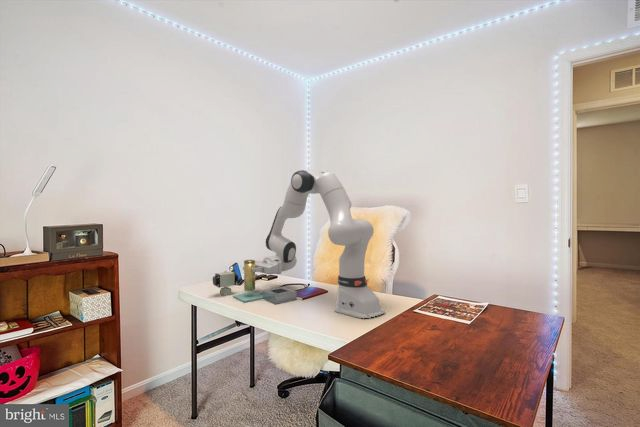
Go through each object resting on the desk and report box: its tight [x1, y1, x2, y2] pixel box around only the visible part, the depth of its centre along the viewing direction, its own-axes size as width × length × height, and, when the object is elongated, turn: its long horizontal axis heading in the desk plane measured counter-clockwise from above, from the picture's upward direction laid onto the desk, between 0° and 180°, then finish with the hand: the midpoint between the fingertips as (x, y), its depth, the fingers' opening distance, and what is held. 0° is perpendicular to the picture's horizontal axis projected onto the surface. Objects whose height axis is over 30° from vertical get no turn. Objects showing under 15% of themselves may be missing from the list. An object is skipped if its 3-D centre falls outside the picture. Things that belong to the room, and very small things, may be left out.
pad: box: [232, 291, 264, 304], centre depth 163 cm, size 12×12×1 cm
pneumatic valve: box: [212, 270, 239, 297], centre depth 168 cm, size 6×12×12 cm, turn 128°
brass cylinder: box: [243, 259, 256, 292], centre depth 163 cm, size 5×5×14 cm
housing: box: [261, 286, 298, 305], centre depth 160 cm, size 12×12×4 cm
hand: (248, 269), depth 162 cm, fingers closed on brass cylinder, 5 cm apart
